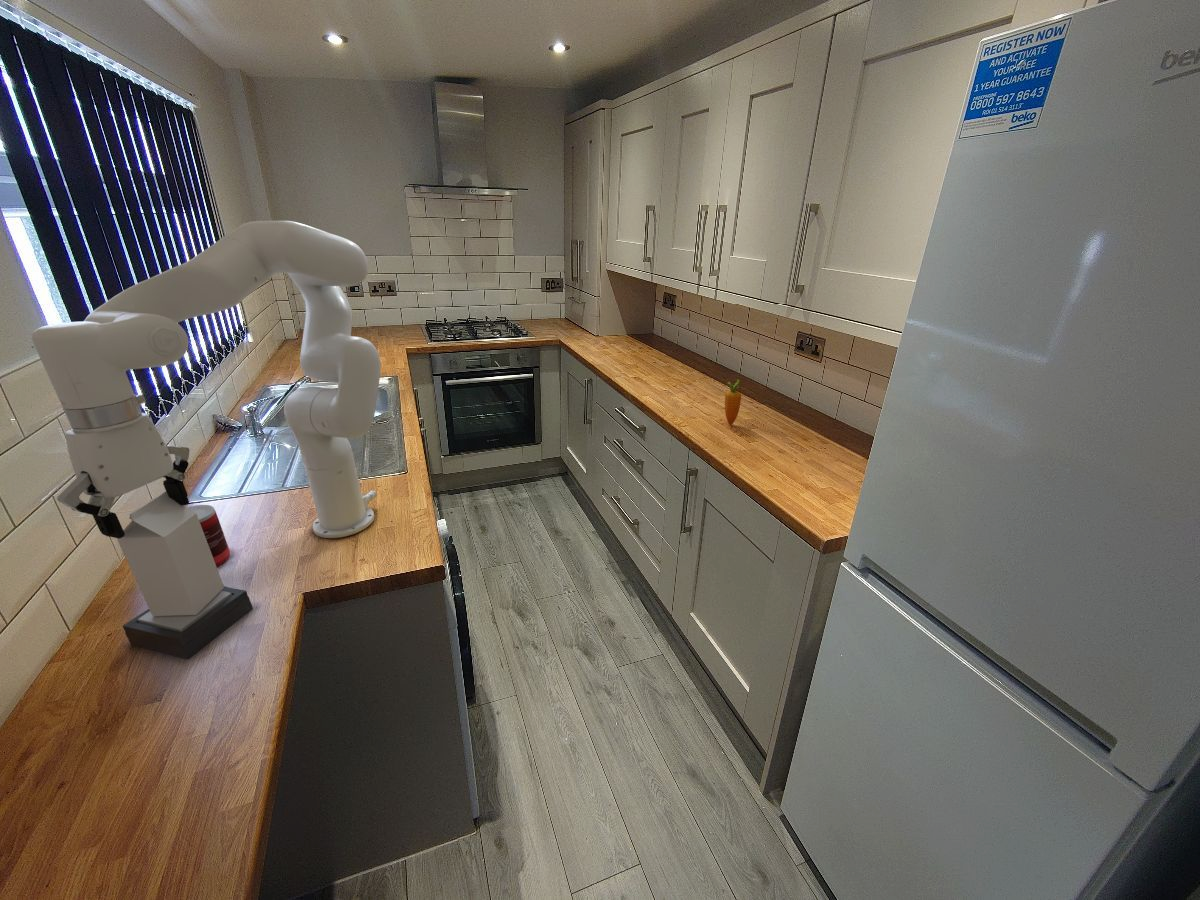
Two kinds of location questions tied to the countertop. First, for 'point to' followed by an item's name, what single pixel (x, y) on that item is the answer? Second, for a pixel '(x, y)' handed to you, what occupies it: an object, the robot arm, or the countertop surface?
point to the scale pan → (183, 616)
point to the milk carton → (170, 558)
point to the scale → (190, 628)
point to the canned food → (212, 532)
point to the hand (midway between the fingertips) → (149, 519)
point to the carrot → (732, 403)
